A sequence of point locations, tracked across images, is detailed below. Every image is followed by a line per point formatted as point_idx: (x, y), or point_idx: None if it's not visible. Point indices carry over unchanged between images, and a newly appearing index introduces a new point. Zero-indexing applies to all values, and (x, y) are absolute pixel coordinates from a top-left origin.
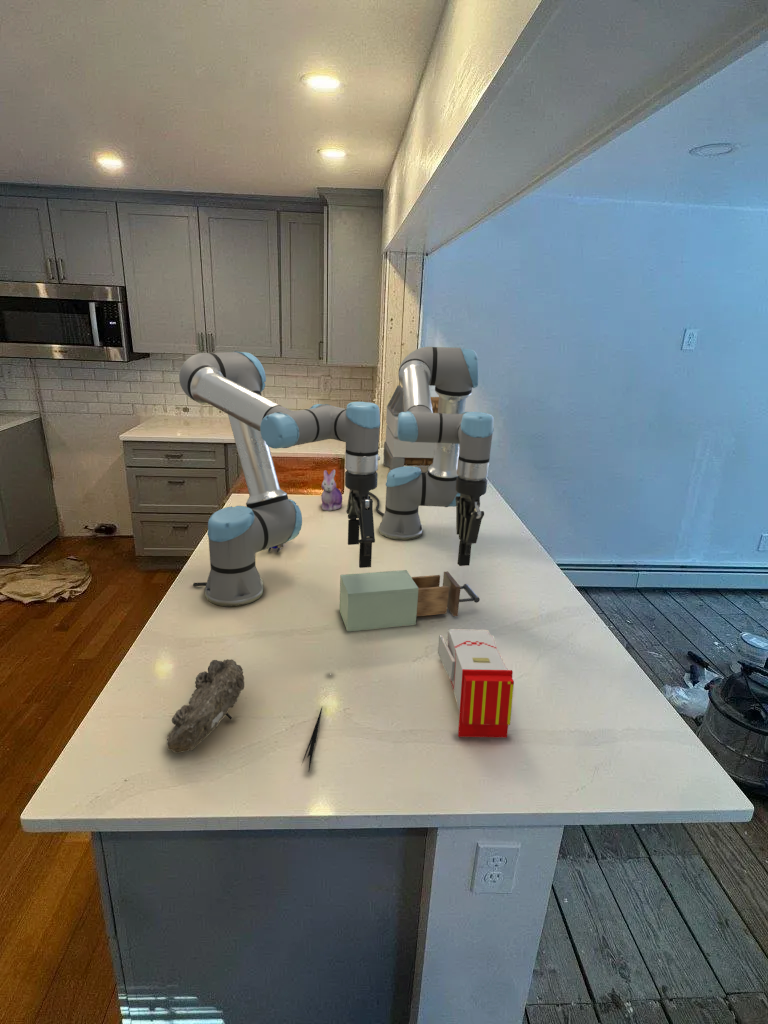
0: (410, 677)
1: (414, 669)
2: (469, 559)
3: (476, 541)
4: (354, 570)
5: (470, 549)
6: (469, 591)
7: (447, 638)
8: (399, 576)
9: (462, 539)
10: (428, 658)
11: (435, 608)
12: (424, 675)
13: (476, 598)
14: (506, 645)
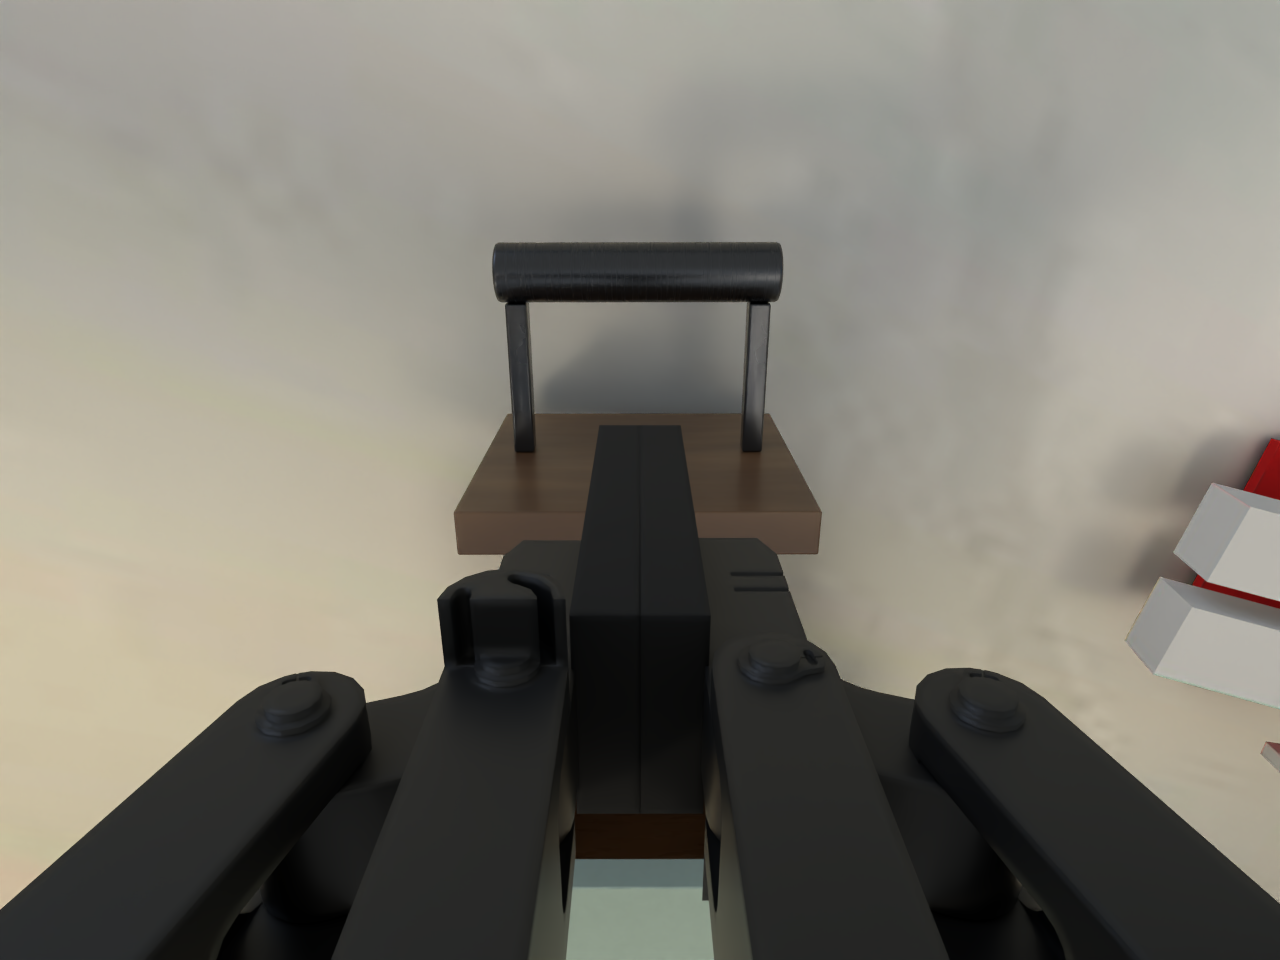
0: (1204, 812)
1: (1156, 782)
2: (685, 464)
3: (1059, 716)
4: (23, 833)
5: (789, 599)
6: (642, 296)
7: (1131, 645)
8: (581, 958)
9: (578, 783)
10: (1101, 701)
11: None
12: (1222, 756)
13: (781, 281)
14: (1193, 188)
